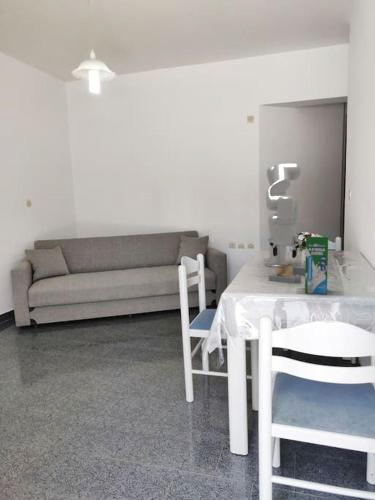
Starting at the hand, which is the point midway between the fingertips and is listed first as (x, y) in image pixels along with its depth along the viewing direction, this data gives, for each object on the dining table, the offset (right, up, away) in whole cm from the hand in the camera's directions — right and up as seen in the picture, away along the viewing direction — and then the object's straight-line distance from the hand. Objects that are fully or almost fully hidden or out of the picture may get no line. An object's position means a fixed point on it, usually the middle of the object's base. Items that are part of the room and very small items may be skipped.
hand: (284, 256), depth 190 cm
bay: (+4, -12, +4) cm, 14 cm away
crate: (0, -12, +1) cm, 12 cm away
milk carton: (+9, -15, -18) cm, 26 cm away
